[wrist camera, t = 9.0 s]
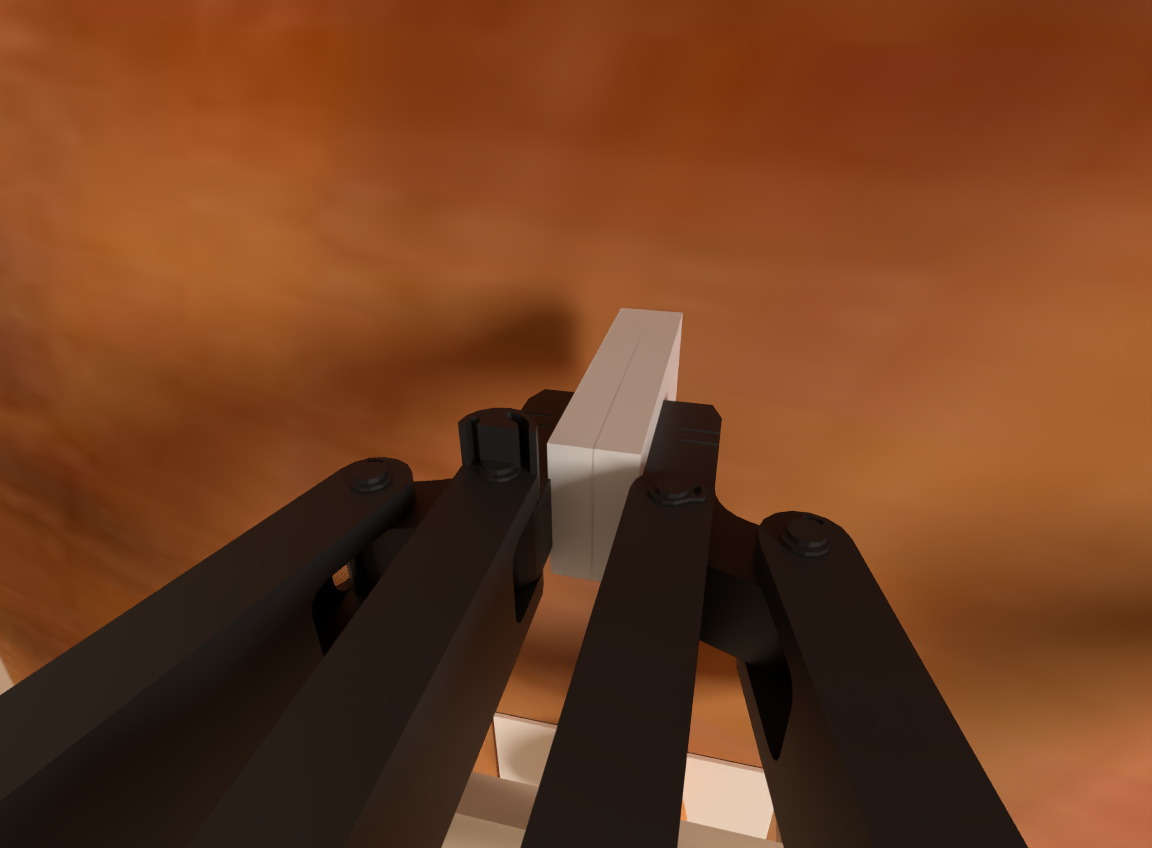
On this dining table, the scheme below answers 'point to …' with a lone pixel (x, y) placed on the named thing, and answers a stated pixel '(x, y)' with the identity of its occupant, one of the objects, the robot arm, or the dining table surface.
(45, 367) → the dining table surface
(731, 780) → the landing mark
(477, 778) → the bridge
